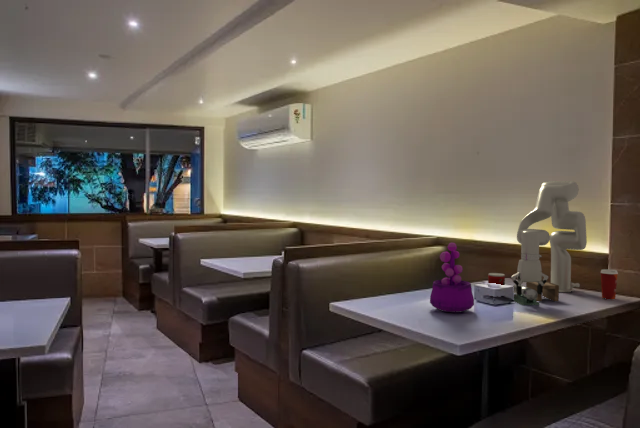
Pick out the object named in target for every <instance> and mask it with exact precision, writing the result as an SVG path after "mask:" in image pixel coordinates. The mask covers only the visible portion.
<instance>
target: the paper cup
mask: <svg viewBox="0 0 640 428" xmlns="http://www.w3.org/2000/svg"><path fill="white" fill-rule="evenodd" d="M599 274H600V281H601V283H600V284H601V285H600V286H601V299H603V298H606V299H605V300H607V299H615V300H616V297H617V296H616V295H617V284H618V275H619V272H618V270H616V269H607V268H606V269H605V268H603V269H601V270H600V271H599Z"/></svg>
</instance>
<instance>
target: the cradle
mask: <svg viewBox="0 0 640 428" xmlns="http://www.w3.org/2000/svg"><path fill="white" fill-rule="evenodd" d="M513 298H514V301H515V302H514V301H513V302H514V303H516V302H517V303H516V304H518V303H519V305H521V306H540V302H537V301H536V299H535V300H529V299H527V298H525V297H522V296H520V295H518V294H515V293H513Z"/></svg>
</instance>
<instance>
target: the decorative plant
mask: <svg viewBox="0 0 640 428" xmlns="http://www.w3.org/2000/svg"><path fill="white" fill-rule="evenodd" d="M457 248H458V247H457V244H456V243H455V242H449V243H448V245H447V249H448V251H442V252H441V253H440V254H439V260H440V261H441V262H444V263H443V264H442V265H441V269H442V271H443V272H444V274H445V277H443V278H441V279H437V280H434V281H433V282H432V289H431V292H430V297H429V304H430V305H431V306H432V307H434V308H435V309H438V310H439V311H442V312H447V313H462V312H465V311H469V310H471V309H472V308H473V306H475V297H474V294H473V289H472V283H471V282H469V281H466V280H462V276H461V275H460V274H461V273H462V272H463V270H464V269H463V266H462V265H460V264H455V263H456V262H455V259H458V258H460V252H459V251H457ZM449 251H450V252H449Z"/></svg>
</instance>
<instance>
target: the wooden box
mask: <svg viewBox="0 0 640 428" xmlns="http://www.w3.org/2000/svg"><path fill="white" fill-rule="evenodd" d="M525 283H526V284H525V285H526V287H528V288H531V289H533V290H535V291H537V285H538V283H537V282H525ZM559 294H560V292H559V285H556V284H553V283H551V281H547V282H546V283H545V284H544V286H543V292H542V295H540V294H538V296H537V298H536V302H537V301H543V298H545V297H546V298H545V299H547V298H548V299H547V300H550V299H551V300H550V301H552V300H553V302H555V301H559V299H560V298H559V297H560V295H559ZM542 296H544V297H542ZM559 302H560V301H559Z"/></svg>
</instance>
